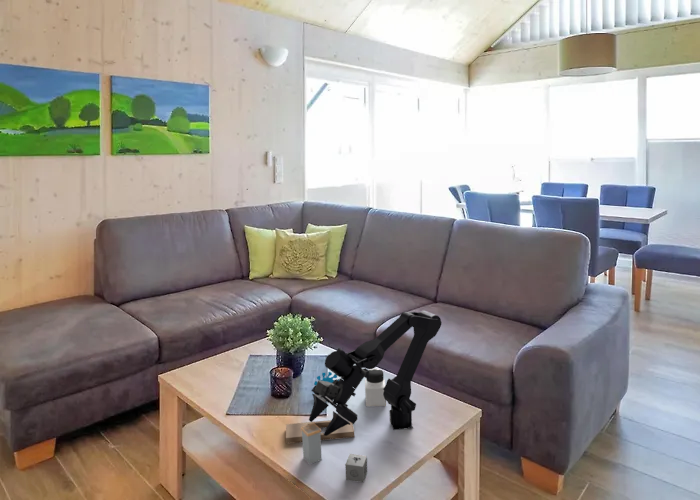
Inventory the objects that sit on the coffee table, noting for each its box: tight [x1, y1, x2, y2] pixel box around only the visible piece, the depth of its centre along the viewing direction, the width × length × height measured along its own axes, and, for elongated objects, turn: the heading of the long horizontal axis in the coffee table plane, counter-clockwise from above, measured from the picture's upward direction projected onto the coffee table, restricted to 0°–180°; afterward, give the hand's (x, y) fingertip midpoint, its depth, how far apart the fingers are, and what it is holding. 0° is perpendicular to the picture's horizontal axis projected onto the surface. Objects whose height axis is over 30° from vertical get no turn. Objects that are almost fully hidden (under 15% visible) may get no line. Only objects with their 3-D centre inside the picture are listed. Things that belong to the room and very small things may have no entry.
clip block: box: [301, 423, 322, 465], centre depth 156 cm, size 4×4×10 cm
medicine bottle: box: [364, 367, 387, 408], centre depth 187 cm, size 7×7×12 cm
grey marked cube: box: [344, 453, 368, 483], centre depth 148 cm, size 5×5×5 cm
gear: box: [313, 371, 340, 386], centre depth 195 cm, size 11×6×10 cm
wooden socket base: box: [285, 419, 355, 444], centre depth 169 cm, size 22×8×2 cm, turn 96°
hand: (317, 427), depth 156 cm, fingers open, 9 cm apart
